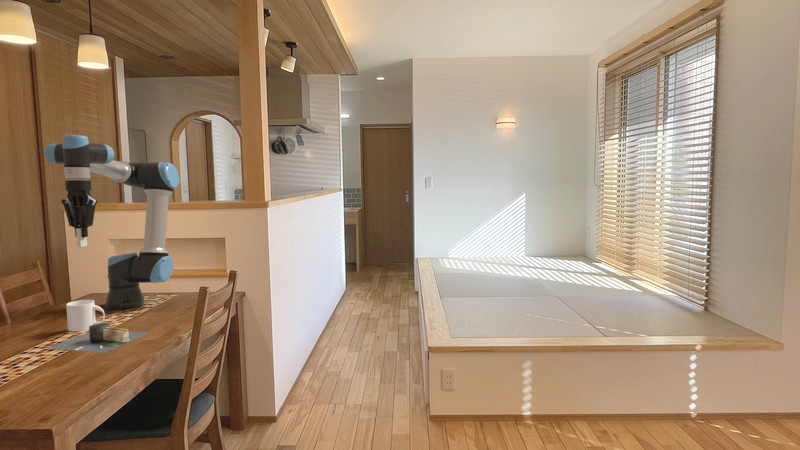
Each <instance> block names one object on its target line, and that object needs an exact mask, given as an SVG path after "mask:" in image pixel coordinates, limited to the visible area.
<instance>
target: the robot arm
mask: <svg viewBox="0 0 800 450" xmlns="http://www.w3.org/2000/svg"><path fill="white" fill-rule="evenodd" d="M44 157H45V159H46V161H47V162H48V163H50V164H54V165H63V169H64V179H66V180H65V181H64V185H65V191H66V192H67V195H66V198H63V199H61V204H62V205H63V207H64V210H65V214H66V218H67V222H68V225H69V227H73V228H74V234H75V238H76V247H77V248H81V247H87V246H88V236H89V232H88V231H89V227H92V226H93V225H94V218H95V211H96V206H97V204H98V199H96V198H92V195H91V190H92V181H91V180H90V179H91V178H92V177H91V173H94V174H97V175H100V176H103V177H108V178H110V179H112V181H114V182H116V183H119V184H122V185H126V186H129V187H132V188H137V189H138V188H139V189H143V192H144V193H145V194H146V196H147V198H146V211H145V224H144V237H143V248H142V249H141V250H140V251H139V253H138V252H127V253H122V254H116V255H112V256H110V257H108V259H107V275H108V287H109V288H108V293H107V298H106V300H105V309H107V310H125V309H133V308H137V307H139V306H143V305H144V304H145V297H144V296H143V292H142V290H141V288H140V283H141V284H142V283H143V284H144V283H146V284H147V283H149V284H151V283H152V284H158V283H165V282H167V281H168V280H169V279H170V278H171V276H172V274H173V271H174V267H175V264H174V260H173V258H172V257H171V256H170V255H169V252H168V250H167V249H166V245H167V243H166V242H167V228H168V227H167V226H168V215H169V214H168V212H169V197H170V196H171V195H172V194H173V191H174V189H176V188H178V187H179V186H178V185H180V176H179V175H180V174H179V172H178V170H177V168H176V167H175V165H174V164H172V163H171V162H163V161H159V162H157V161H155V162H142V161H139V162H128V161H125V160H124V161H123V160H114V159H115V151H114V149H113V148H112V147H111V146H110V145H109V144H104V143H98V142H97V143H96V142H95V143H94V142H90V141H89V137H88V136H86V135H83V134H82V135H81V134H80V135H79V134H65V135H63V137H62V143H59V142H58V143H50V144H48V145H46V147H45V148H44Z"/></svg>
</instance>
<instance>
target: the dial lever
mask: <svg viewBox="0 0 800 450" xmlns="http://www.w3.org/2000/svg"><path fill="white" fill-rule="evenodd" d="M88 331H89V333H90V342H91V343H100V342H105V341H116V342H125V341H128V340H129V332H128V331H130V330H129V329H128V328H122V327H121V328H120V327H119V328H118V327H111V324H110V323H109V322H103V323H99V324H94V325H91V326H89V329H88Z"/></svg>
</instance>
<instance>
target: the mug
mask: <svg viewBox="0 0 800 450" xmlns="http://www.w3.org/2000/svg"><path fill="white" fill-rule="evenodd" d="M65 309H66V319H67V320H66V321H67V331H68V332H83V331H87V330H88V331H89V326H91V325H94V324H99V323H104V321H105V319H106V318H105V317H106V314H105V311H104V309H103V308H102V307H101V306H99V305H96V304H95V300H93V299H80V300H74V301H70V302H67V303H66V306H65ZM96 311H99V312H101V314H103V317H102V319H100V320H99V321H96Z"/></svg>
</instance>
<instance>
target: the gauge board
mask: <svg viewBox="0 0 800 450" xmlns="http://www.w3.org/2000/svg"><path fill="white" fill-rule="evenodd" d="M128 332H129V340H128V341H125V342H116V341H105V342H100V343H91V342H90V333H89V332H85V333H83V334H81V335H78V336H76V337H73V338H69V339H67V340H65V341H62V342H59V343H56V344H53V345H52V346H49V347H47V349H54V350H63V351H64V350H65V351H66V350H67V351H74V352H75V351H77V352H86V353H87V352H89V353H101V354H106V353H107V352H109V351H112V350H114V349H117V348H119V347H122V346H124V345H126V344H128V343H130V342H133V341H135V340H137V339H139V338H141V337H144V336H146V335H148V334H149V332H144V331H143V332H142V331H130V330H129V331H128Z"/></svg>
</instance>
